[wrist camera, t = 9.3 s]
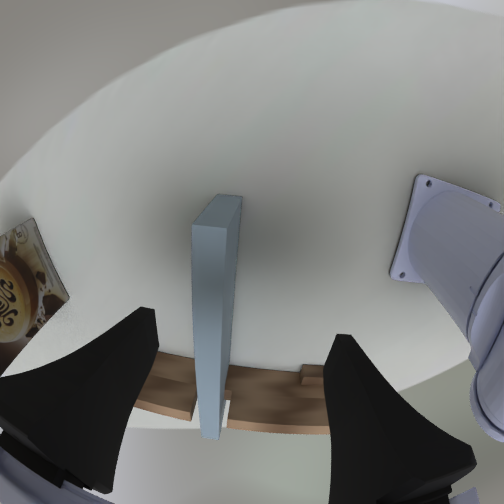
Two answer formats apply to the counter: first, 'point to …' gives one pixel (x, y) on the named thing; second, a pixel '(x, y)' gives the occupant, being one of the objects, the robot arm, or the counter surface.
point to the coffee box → (25, 289)
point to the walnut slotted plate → (242, 396)
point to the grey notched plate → (214, 304)
